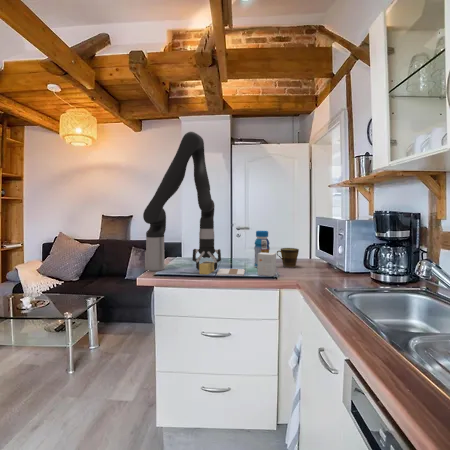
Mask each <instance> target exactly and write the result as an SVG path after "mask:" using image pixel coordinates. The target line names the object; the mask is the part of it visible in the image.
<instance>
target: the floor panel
mask: <svg viewBox="0 0 450 450" xmlns="http://www.w3.org/2000/svg"><path fill="white" fill-rule="evenodd" d="M245 271H246V270H245V269H243V268H242V269H241V268H219V270H218V271H217V272H216V275H217V276H233V277H235V276H240V277H241V276H242V277H244V276H245Z"/></svg>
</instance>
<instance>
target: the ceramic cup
mask: <svg viewBox="0 0 450 450" xmlns="http://www.w3.org/2000/svg"><path fill="white" fill-rule="evenodd" d="M299 251H300V249H299V248H297V247H296V248H295V247H281V248H280V250H277V251H276V256H278V257H279V258H280V260H282V267H283V268H286V269H287V268H289V269H290V268H291V269H292V268H296V266H297V263H298V262H297V260H298V255H299ZM279 252H280V255H279V254H278V253H279Z"/></svg>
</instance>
